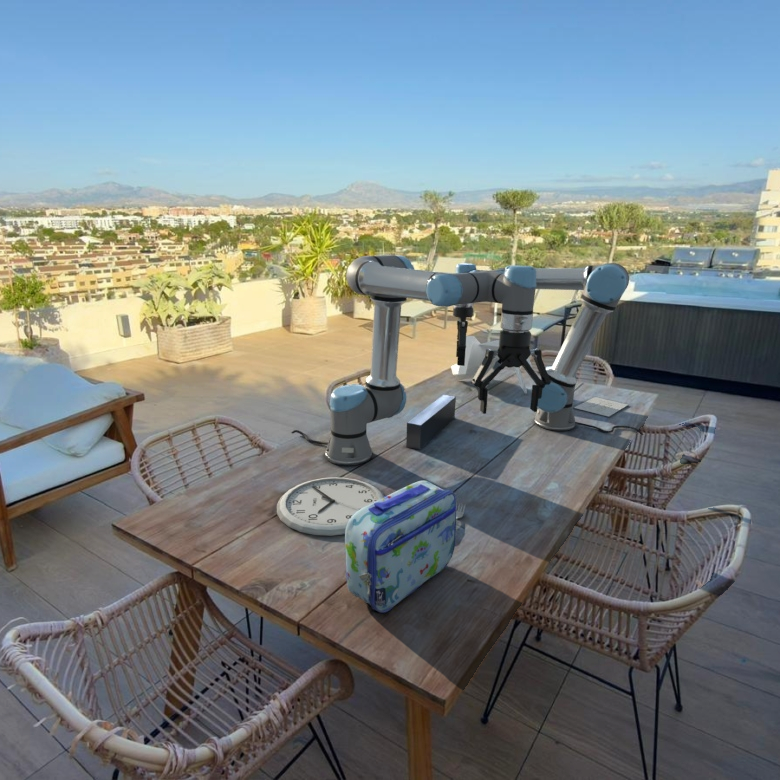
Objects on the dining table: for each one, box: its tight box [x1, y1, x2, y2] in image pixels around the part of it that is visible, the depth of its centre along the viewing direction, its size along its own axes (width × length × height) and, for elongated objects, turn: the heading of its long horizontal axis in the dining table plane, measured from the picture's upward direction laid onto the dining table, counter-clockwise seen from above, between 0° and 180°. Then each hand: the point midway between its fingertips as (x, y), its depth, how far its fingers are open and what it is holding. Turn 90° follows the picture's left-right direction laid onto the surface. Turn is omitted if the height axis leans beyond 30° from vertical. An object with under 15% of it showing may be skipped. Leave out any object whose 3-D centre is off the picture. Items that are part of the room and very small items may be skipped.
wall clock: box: [276, 476, 386, 537], centre depth 142 cm, size 30×2×30 cm
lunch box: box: [344, 480, 457, 614], centre depth 109 cm, size 26×11×21 cm, turn 135°
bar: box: [405, 394, 457, 451], centre depth 194 cm, size 36×5×9 cm, turn 154°
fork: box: [456, 501, 466, 520], centre depth 134 cm, size 3×16×2 cm, turn 160°
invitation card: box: [573, 396, 629, 418], centre depth 226 cm, size 21×1×15 cm
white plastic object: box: [450, 335, 536, 394], centre depth 253 cm, size 37×45×31 cm
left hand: (508, 411), depth 135 cm, fingers open, 13 cm apart
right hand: (460, 361), depth 202 cm, fingers open, 13 cm apart
